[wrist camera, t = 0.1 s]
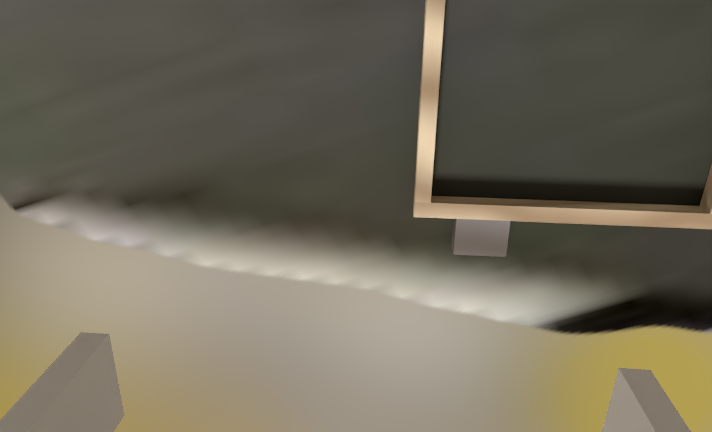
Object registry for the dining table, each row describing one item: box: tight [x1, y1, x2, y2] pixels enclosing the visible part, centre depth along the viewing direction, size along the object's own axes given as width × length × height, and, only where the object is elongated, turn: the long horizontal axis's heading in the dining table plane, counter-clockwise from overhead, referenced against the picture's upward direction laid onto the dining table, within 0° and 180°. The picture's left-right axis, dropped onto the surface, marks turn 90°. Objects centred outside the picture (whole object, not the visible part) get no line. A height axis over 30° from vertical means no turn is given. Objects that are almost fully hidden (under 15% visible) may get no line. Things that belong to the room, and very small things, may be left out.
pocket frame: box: [413, 0, 712, 257], centre depth 37 cm, size 23×22×2 cm
